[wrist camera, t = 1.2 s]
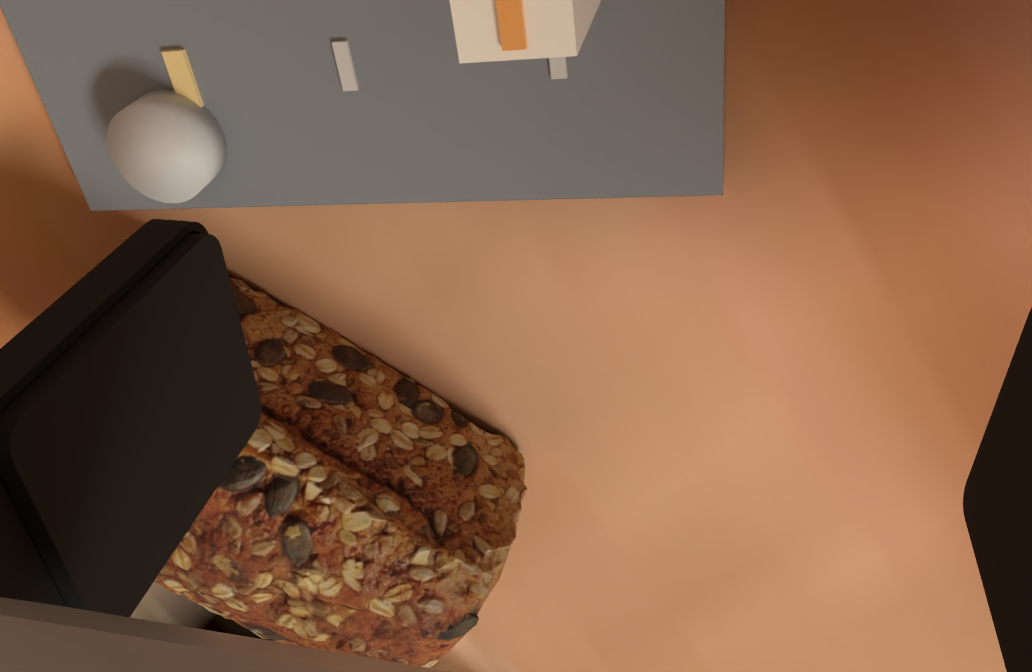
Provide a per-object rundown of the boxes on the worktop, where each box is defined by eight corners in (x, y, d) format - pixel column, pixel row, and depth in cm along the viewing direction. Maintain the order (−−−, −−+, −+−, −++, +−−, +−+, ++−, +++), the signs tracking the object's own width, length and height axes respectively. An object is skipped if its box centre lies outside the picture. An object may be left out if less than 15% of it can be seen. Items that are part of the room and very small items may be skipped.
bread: (546, 443, 39) (499, 633, 31) (435, 558, 45) (372, 742, 37) (166, 213, 36) (4, 360, 28) (103, 372, 42) (-43, 529, 34)
